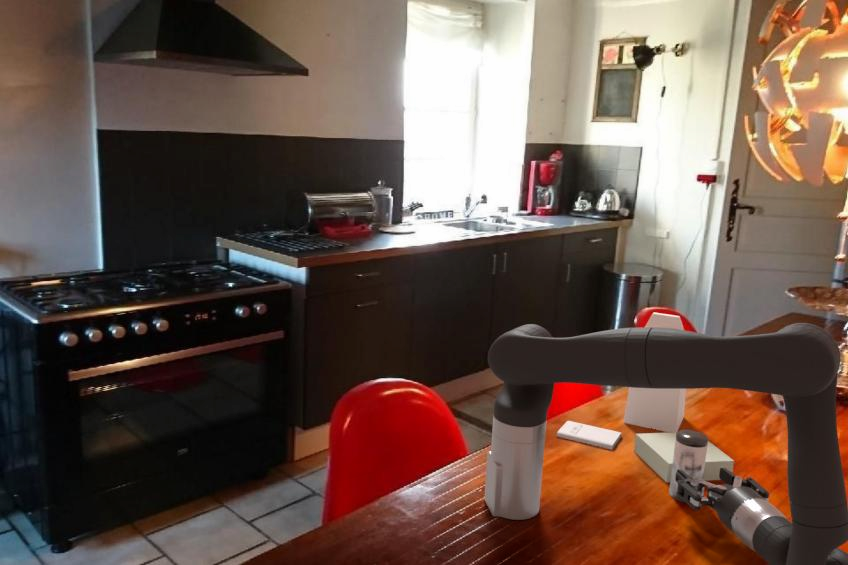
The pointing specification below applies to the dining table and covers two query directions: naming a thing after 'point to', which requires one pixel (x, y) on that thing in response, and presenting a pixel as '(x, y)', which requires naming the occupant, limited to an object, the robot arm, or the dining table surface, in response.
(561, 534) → the dining table surface
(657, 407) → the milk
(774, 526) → the robot arm
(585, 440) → the external hard drive
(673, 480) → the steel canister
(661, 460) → the stand
